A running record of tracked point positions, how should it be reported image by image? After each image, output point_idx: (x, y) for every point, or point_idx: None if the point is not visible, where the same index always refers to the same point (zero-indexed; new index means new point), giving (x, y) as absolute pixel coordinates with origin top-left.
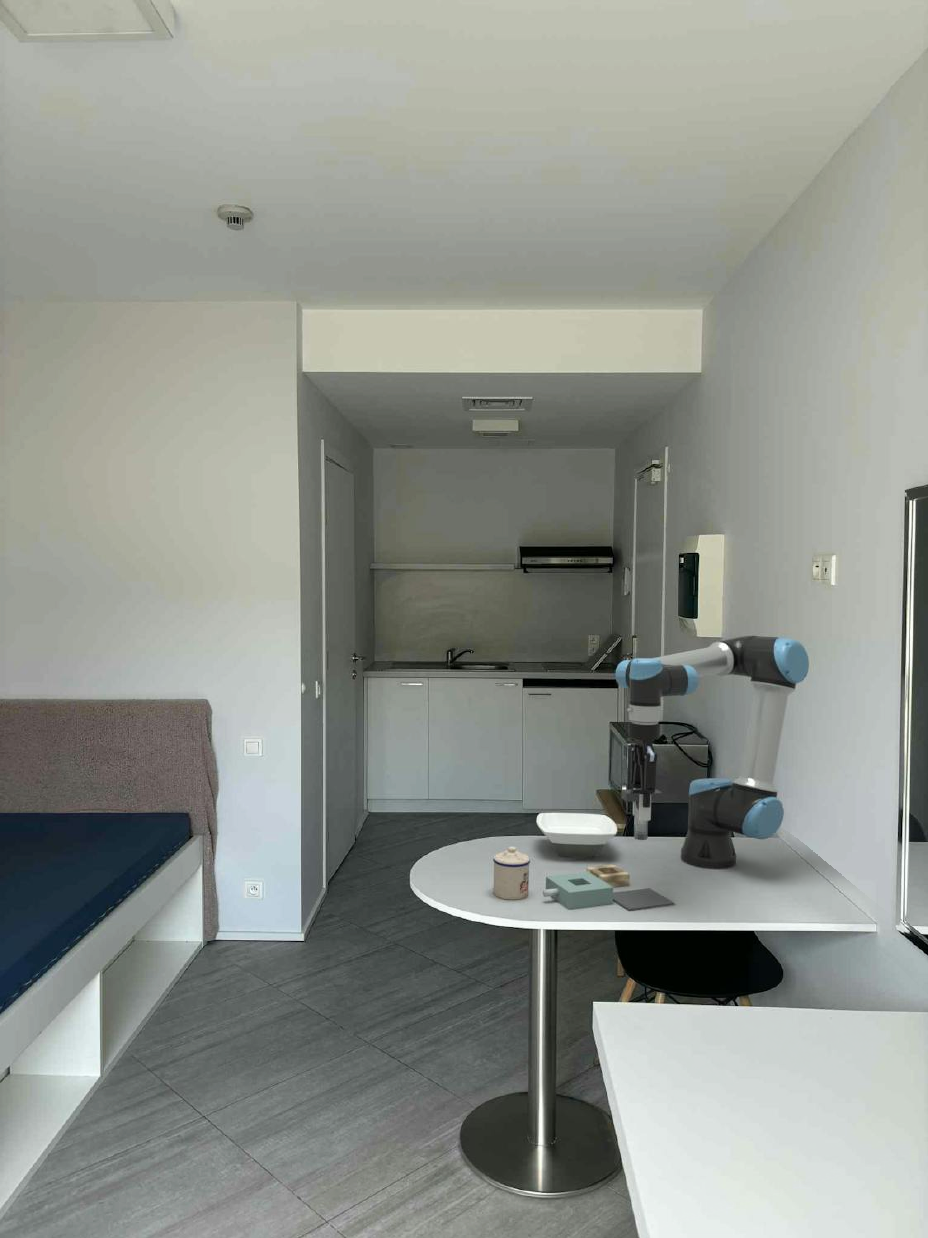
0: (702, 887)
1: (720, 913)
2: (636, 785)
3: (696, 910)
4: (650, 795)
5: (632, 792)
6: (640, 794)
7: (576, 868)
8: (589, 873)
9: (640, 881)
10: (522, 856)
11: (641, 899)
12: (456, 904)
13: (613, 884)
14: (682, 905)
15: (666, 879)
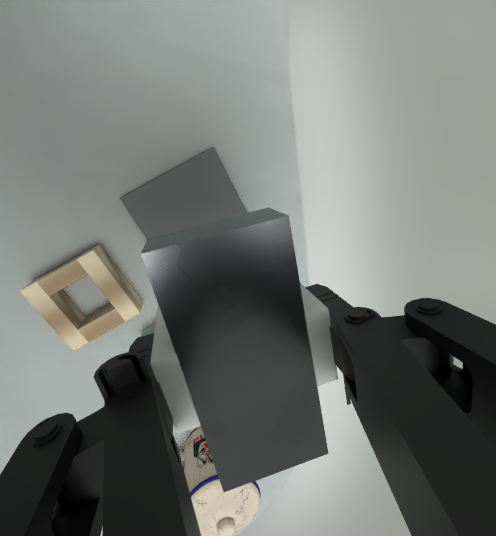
0: (47, 35)
1: (248, 38)
2: (170, 436)
3: (237, 99)
4: (321, 308)
5: (295, 426)
6: (334, 375)
7: (3, 363)
8: None
9: (54, 214)
10: (231, 497)
11: (206, 222)
12: (273, 495)
13: (124, 281)
14: (210, 128)
15: (7, 138)
